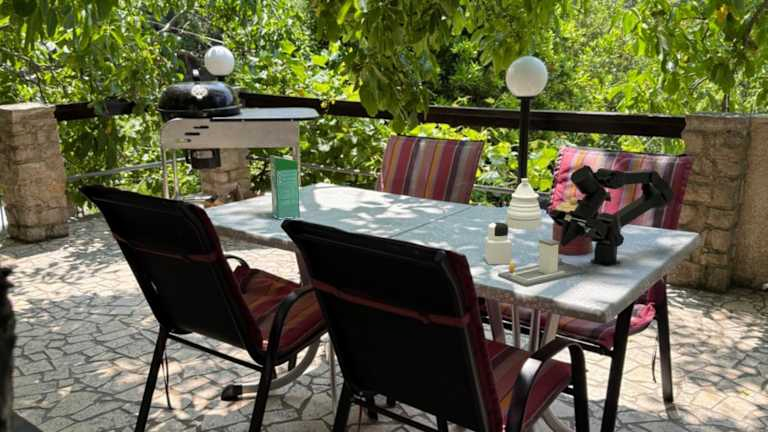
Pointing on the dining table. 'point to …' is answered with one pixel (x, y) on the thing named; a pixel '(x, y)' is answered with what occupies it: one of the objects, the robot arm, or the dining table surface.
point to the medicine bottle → (498, 244)
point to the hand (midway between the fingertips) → (562, 245)
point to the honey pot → (524, 208)
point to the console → (533, 276)
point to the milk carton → (284, 186)
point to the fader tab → (548, 256)
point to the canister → (578, 244)
